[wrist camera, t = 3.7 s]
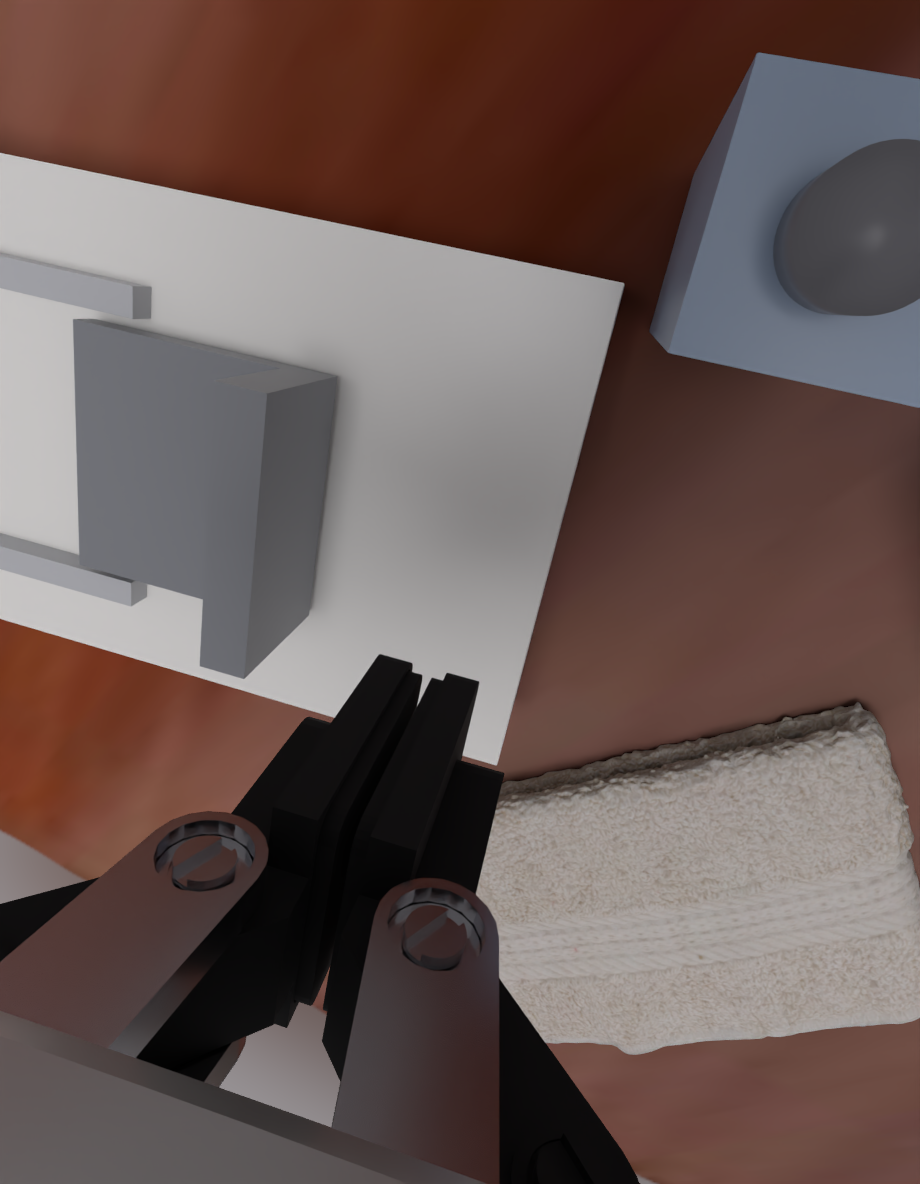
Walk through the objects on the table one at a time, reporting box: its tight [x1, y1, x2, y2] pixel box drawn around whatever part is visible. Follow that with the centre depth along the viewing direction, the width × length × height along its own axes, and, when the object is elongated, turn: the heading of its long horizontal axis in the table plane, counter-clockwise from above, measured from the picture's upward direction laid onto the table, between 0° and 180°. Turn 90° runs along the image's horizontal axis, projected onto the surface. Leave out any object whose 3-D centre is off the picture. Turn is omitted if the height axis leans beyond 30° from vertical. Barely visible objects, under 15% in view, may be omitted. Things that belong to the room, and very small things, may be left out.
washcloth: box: [476, 702, 920, 1055], centre depth 26 cm, size 12×18×3 cm, turn 114°
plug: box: [649, 52, 920, 408], centre depth 14 cm, size 4×4×12 cm
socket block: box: [0, 153, 624, 766], centre depth 22 cm, size 20×14×5 cm
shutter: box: [73, 319, 337, 679], centre depth 18 cm, size 7×7×4 cm
